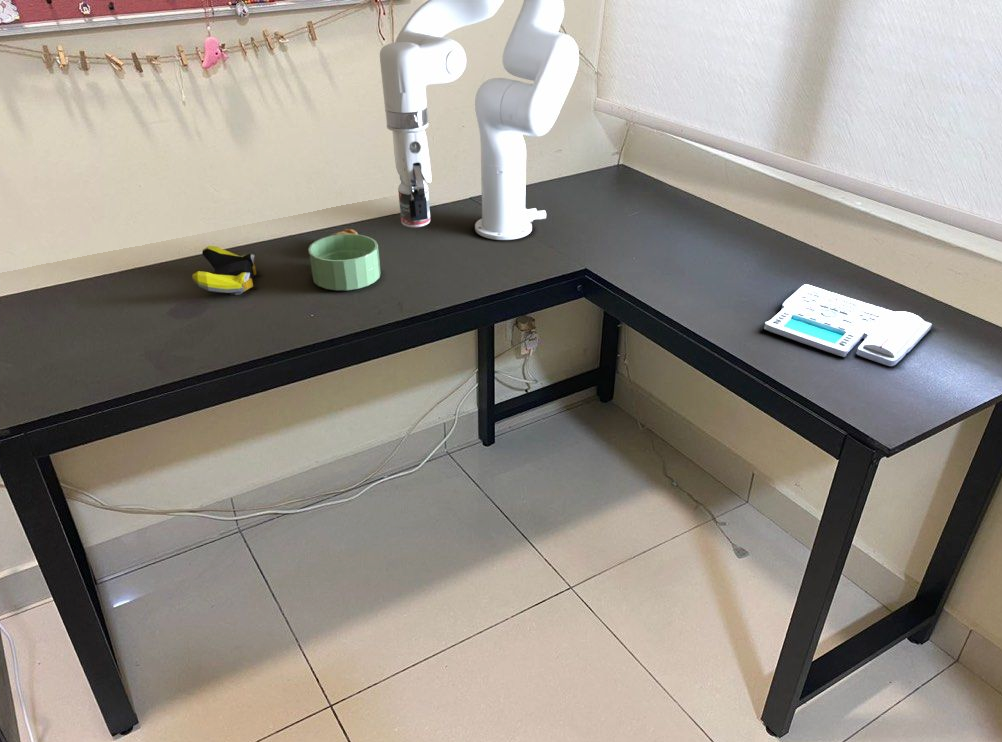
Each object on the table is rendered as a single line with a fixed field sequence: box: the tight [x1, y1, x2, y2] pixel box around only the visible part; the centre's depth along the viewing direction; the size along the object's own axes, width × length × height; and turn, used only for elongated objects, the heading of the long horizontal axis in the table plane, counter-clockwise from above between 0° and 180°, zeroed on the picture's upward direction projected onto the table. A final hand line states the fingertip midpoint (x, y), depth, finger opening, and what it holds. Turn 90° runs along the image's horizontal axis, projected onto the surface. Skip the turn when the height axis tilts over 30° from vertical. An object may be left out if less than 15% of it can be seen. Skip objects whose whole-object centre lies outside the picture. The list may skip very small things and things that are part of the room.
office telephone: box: [763, 283, 933, 367], centre depth 139 cm, size 23×3×20 cm
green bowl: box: [307, 233, 381, 291], centre depth 154 cm, size 13×13×6 cm
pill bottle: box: [397, 174, 431, 228], centre depth 153 cm, size 6×6×10 cm
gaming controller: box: [191, 245, 257, 296], centre depth 152 cm, size 15×6×10 cm
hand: (415, 212), depth 154 cm, fingers closed on pill bottle, 5 cm apart
